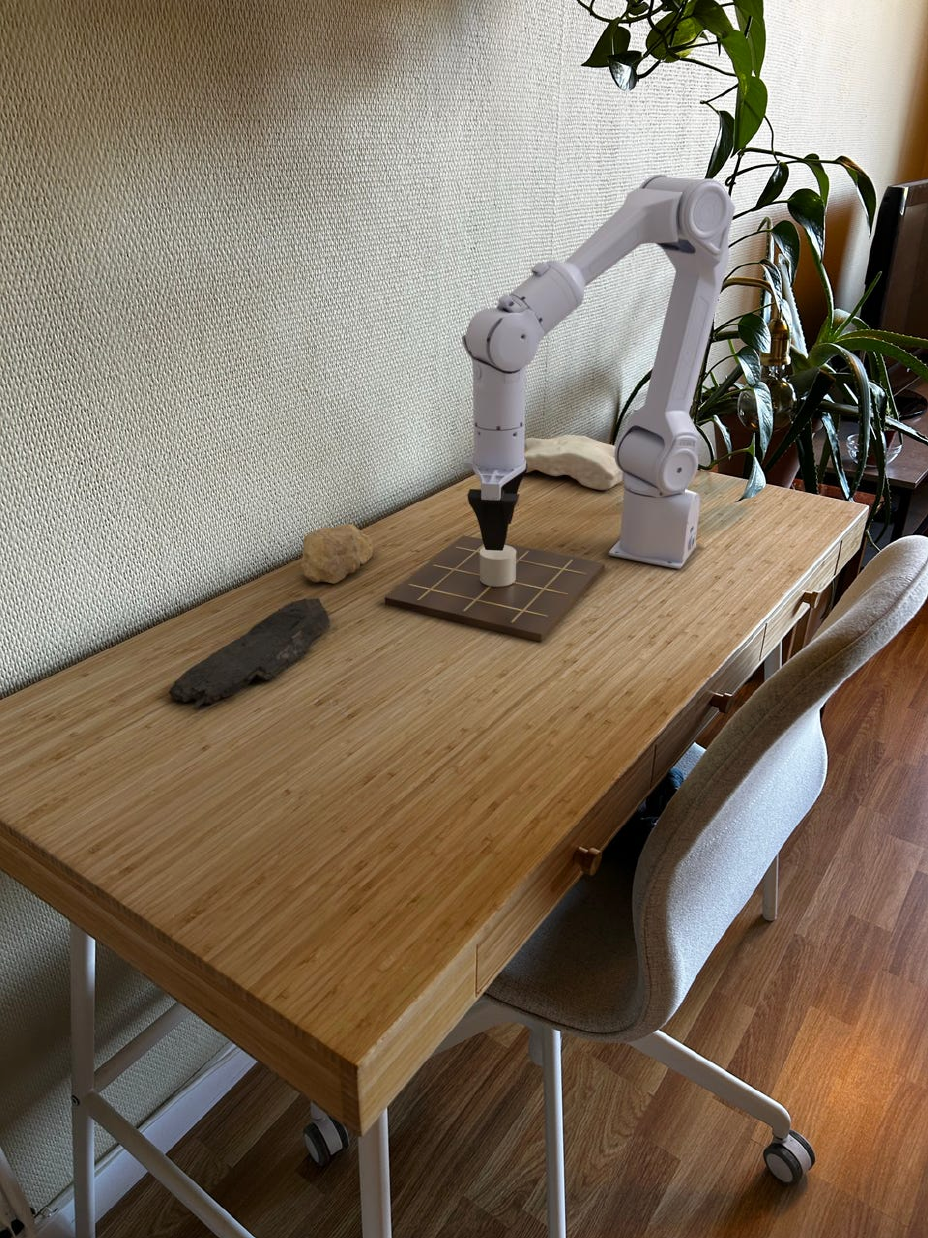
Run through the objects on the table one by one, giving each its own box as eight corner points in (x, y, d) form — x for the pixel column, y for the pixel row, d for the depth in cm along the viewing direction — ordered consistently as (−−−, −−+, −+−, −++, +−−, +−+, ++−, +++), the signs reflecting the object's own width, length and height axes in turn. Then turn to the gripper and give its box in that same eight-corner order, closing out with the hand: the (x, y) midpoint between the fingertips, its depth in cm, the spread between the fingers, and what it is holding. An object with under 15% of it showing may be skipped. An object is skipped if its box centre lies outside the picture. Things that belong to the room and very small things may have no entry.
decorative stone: (650, 438, 146) (615, 461, 135) (647, 469, 148) (612, 494, 137) (531, 420, 156) (488, 440, 144) (530, 450, 158) (487, 471, 147)
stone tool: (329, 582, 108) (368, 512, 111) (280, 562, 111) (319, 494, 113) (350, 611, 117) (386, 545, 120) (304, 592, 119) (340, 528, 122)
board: (604, 570, 115) (604, 562, 114) (541, 642, 99) (541, 633, 99) (463, 541, 123) (463, 534, 122) (384, 604, 107) (384, 596, 107)
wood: (219, 722, 87) (214, 695, 85) (163, 700, 90) (158, 674, 89) (357, 623, 104) (355, 600, 102) (305, 608, 107) (303, 585, 105)
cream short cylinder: (516, 571, 112) (516, 544, 110) (515, 587, 108) (516, 559, 107) (480, 570, 112) (480, 543, 111) (478, 586, 109) (478, 559, 107)
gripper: (473, 403, 108) (474, 510, 115) (452, 441, 95) (454, 559, 102) (532, 405, 107) (530, 513, 113) (519, 444, 94) (517, 563, 101)
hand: (498, 535), depth 108 cm, fingers open, 7 cm apart
